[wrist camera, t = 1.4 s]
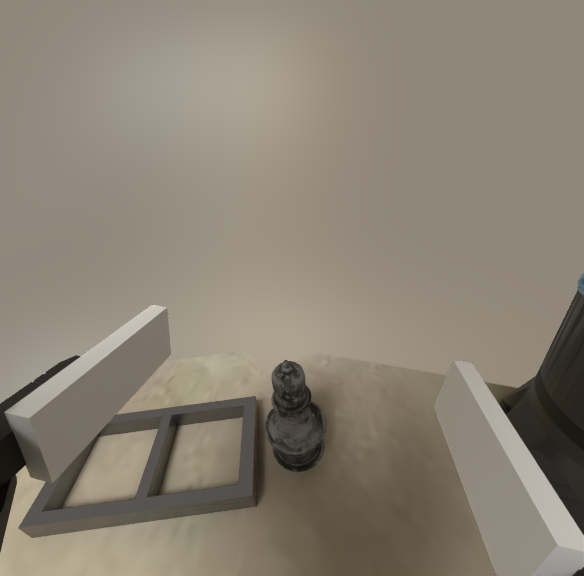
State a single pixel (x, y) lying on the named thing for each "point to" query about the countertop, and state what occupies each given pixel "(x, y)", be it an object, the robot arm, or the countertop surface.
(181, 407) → the grey flat rectangular frame
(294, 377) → the dark grey chess piece
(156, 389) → the countertop surface
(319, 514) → the countertop surface
